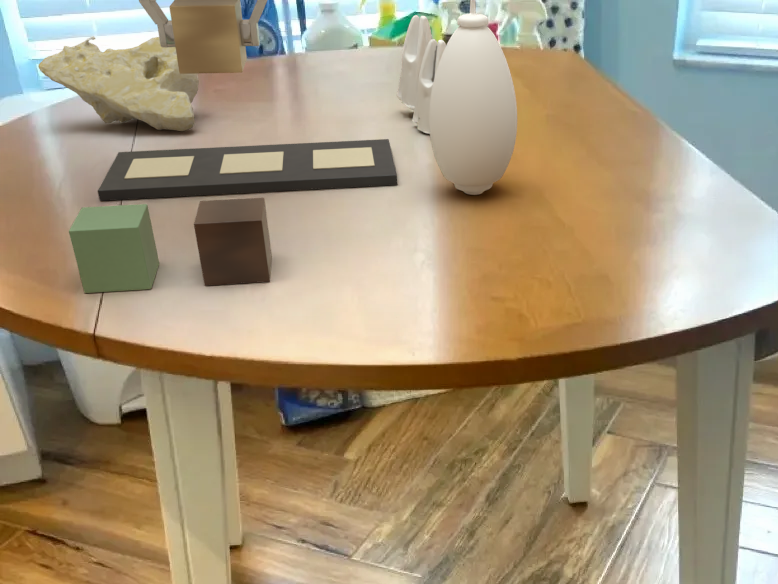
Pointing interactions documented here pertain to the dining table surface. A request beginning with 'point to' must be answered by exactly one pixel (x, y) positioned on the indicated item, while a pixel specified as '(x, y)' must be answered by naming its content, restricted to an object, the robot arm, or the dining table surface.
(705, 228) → the dining table surface
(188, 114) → the beige rock
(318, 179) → the word board
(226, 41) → the maple block
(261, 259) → the walnut block
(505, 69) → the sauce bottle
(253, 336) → the dining table surface
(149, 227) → the green block
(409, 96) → the shaker set
